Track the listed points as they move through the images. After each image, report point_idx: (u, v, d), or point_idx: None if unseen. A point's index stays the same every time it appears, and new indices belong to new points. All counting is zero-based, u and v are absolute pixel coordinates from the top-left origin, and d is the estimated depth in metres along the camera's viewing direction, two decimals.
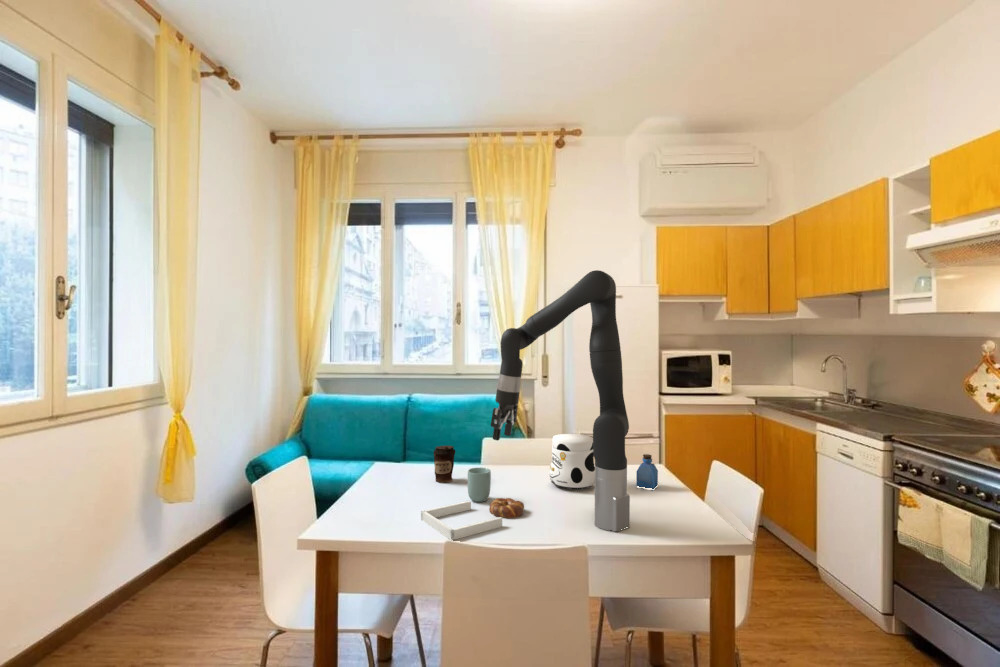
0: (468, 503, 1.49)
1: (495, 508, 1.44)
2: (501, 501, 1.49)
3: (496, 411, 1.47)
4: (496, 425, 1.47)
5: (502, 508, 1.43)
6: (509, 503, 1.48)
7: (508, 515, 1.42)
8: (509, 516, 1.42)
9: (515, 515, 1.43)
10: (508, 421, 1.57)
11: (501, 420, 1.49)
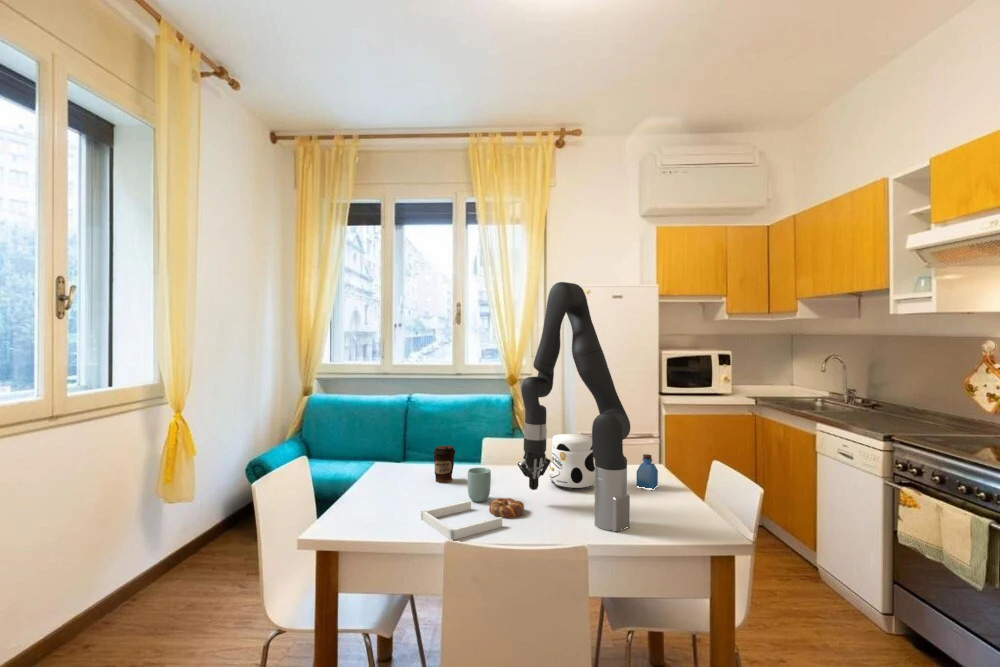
0: (468, 503, 1.49)
1: (495, 508, 1.44)
2: (501, 501, 1.49)
3: (520, 466, 1.51)
4: (528, 476, 1.52)
5: (502, 508, 1.43)
6: (509, 503, 1.48)
7: (508, 515, 1.42)
8: (509, 516, 1.42)
9: (515, 515, 1.43)
10: None
11: (532, 470, 1.53)
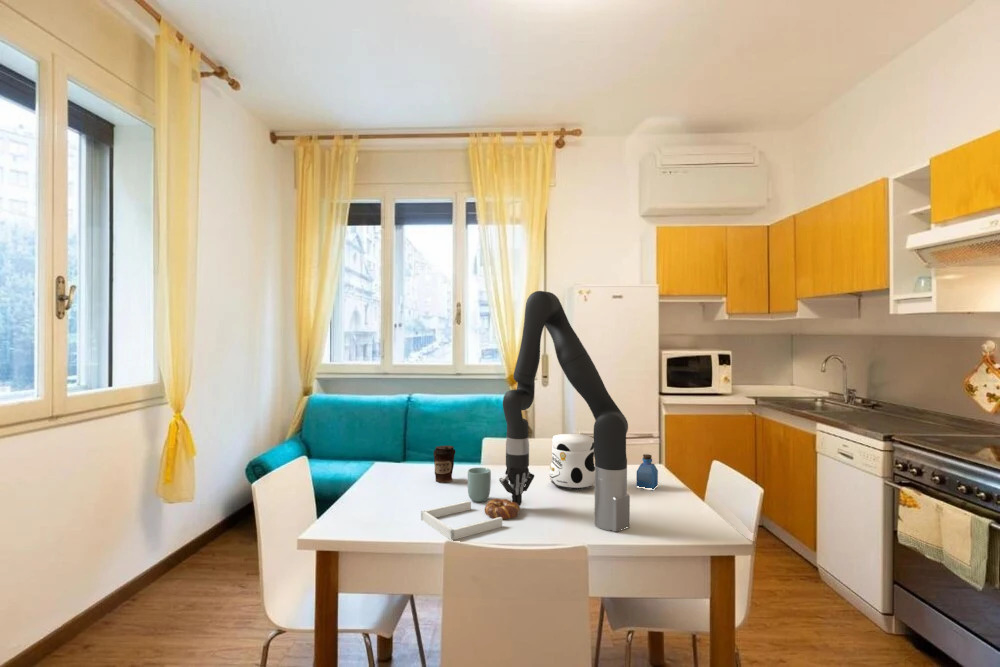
0: (468, 503, 1.49)
1: (490, 509, 1.43)
2: (497, 502, 1.48)
3: (502, 482, 1.47)
4: (510, 492, 1.48)
5: (497, 509, 1.42)
6: (505, 504, 1.47)
7: (502, 516, 1.41)
8: (503, 517, 1.41)
9: (510, 516, 1.41)
10: (518, 489, 1.51)
11: (514, 486, 1.49)
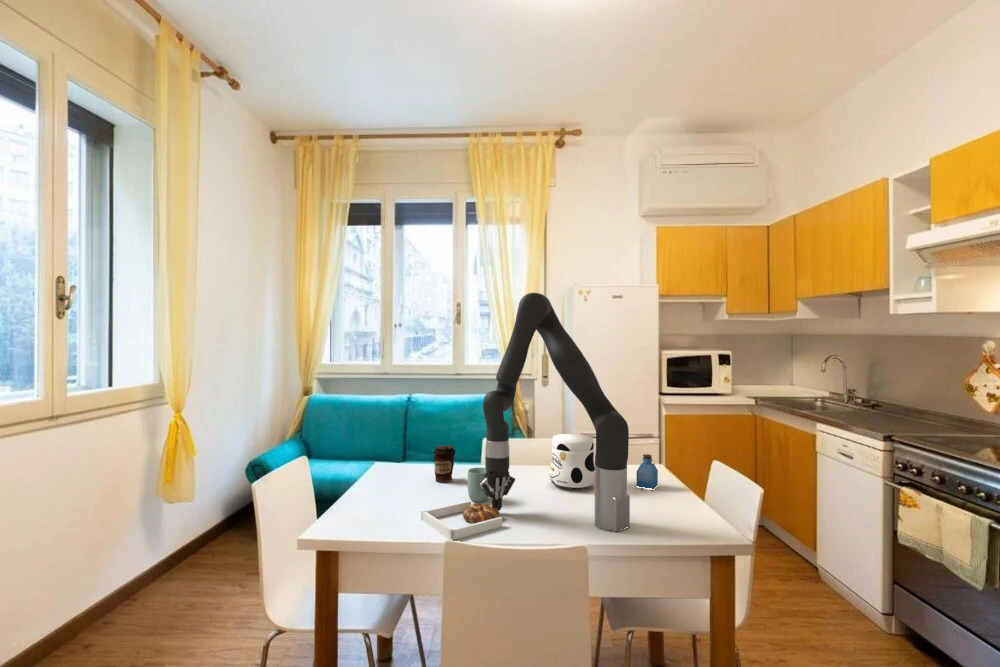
0: (468, 503, 1.49)
1: (466, 513, 1.39)
2: (477, 507, 1.44)
3: (481, 486, 1.43)
4: (489, 496, 1.44)
5: (472, 514, 1.38)
6: (484, 509, 1.42)
7: (477, 522, 1.37)
8: None
9: None
10: (498, 493, 1.47)
11: (494, 490, 1.44)
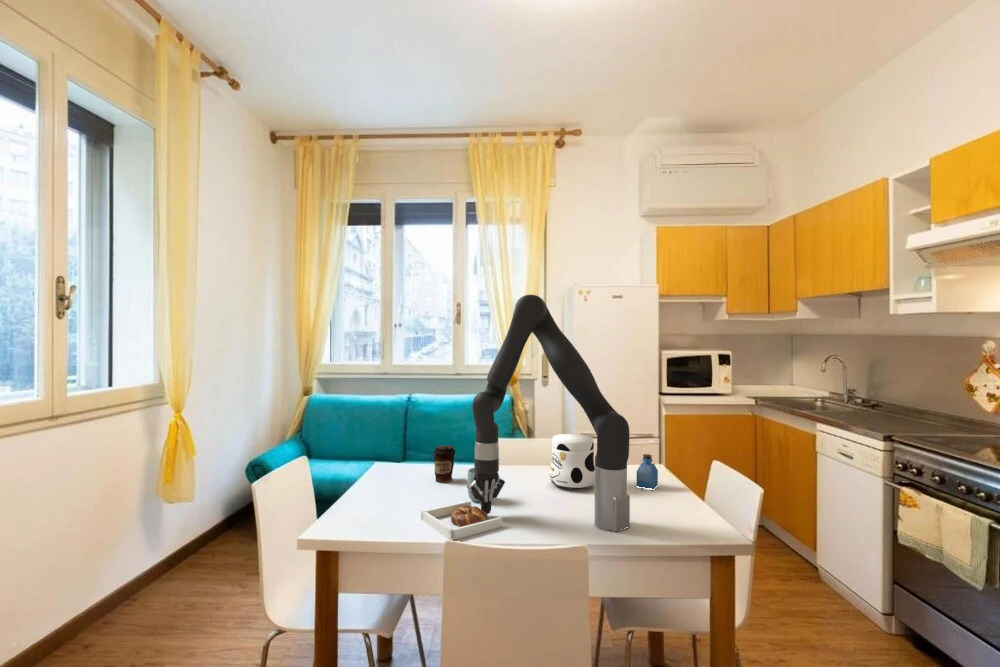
0: (468, 503, 1.49)
1: (453, 515, 1.38)
2: (465, 509, 1.42)
3: (470, 489, 1.40)
4: (478, 499, 1.41)
5: (459, 516, 1.36)
6: (472, 512, 1.40)
7: (463, 524, 1.34)
8: (464, 525, 1.34)
9: None
10: (487, 496, 1.44)
11: (483, 493, 1.42)
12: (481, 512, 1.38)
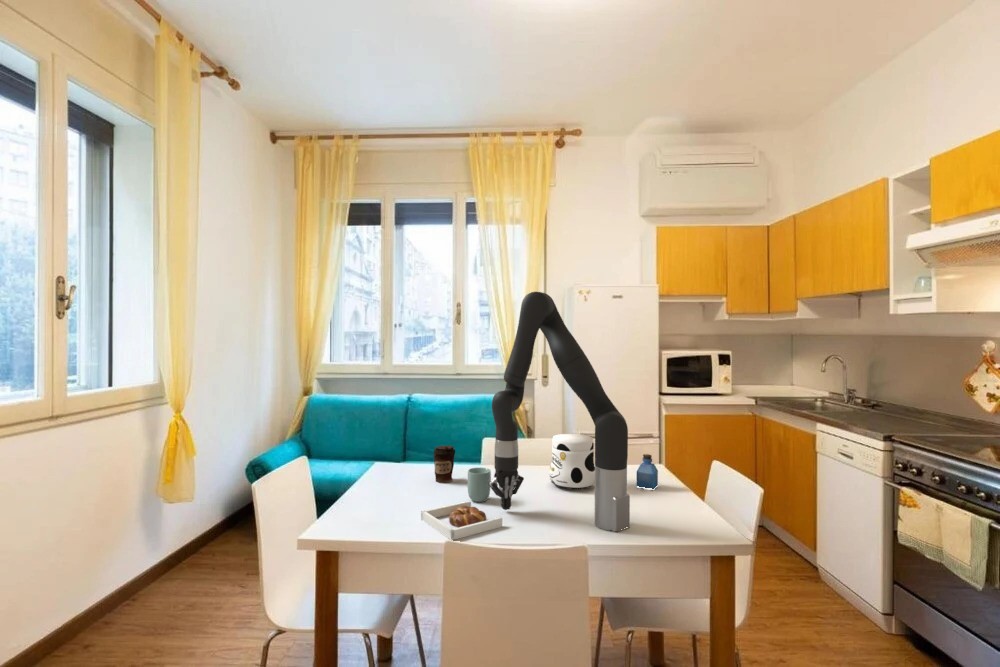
0: (468, 503, 1.49)
1: (451, 516, 1.37)
2: (464, 509, 1.41)
3: (491, 485, 1.44)
4: (499, 496, 1.45)
5: (457, 517, 1.36)
6: (470, 512, 1.40)
7: (461, 525, 1.34)
8: (462, 526, 1.34)
9: None
10: None
11: (503, 489, 1.46)
12: (479, 512, 1.38)
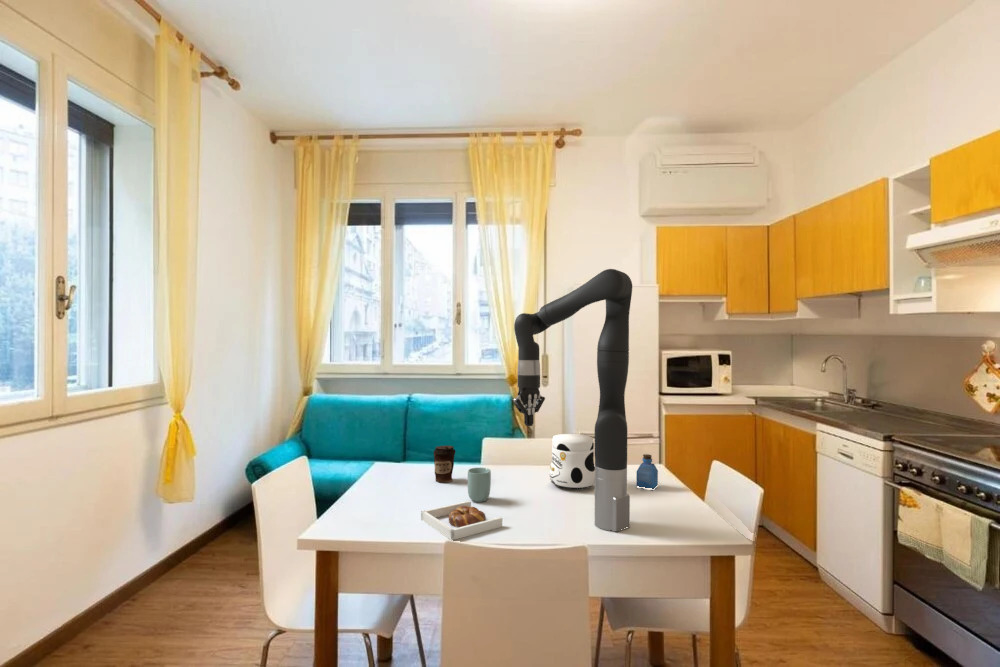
0: (468, 503, 1.49)
1: (451, 516, 1.37)
2: (463, 509, 1.41)
3: (515, 402, 1.52)
4: (523, 412, 1.53)
5: (456, 517, 1.36)
6: (470, 512, 1.40)
7: (460, 525, 1.34)
8: (462, 526, 1.34)
9: None
10: None
11: (526, 406, 1.54)
12: (479, 512, 1.38)
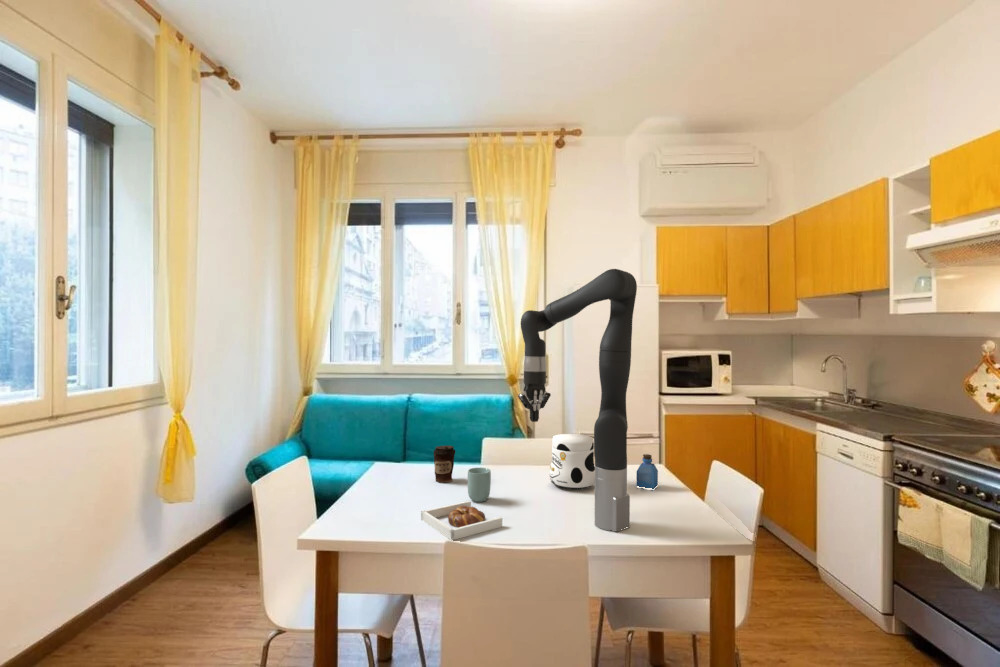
0: (468, 503, 1.49)
1: (450, 516, 1.37)
2: (463, 509, 1.41)
3: (521, 398, 1.54)
4: (528, 407, 1.55)
5: (456, 517, 1.36)
6: (469, 512, 1.40)
7: (460, 525, 1.34)
8: (461, 526, 1.34)
9: None
10: None
11: (532, 402, 1.56)
12: (478, 513, 1.38)
